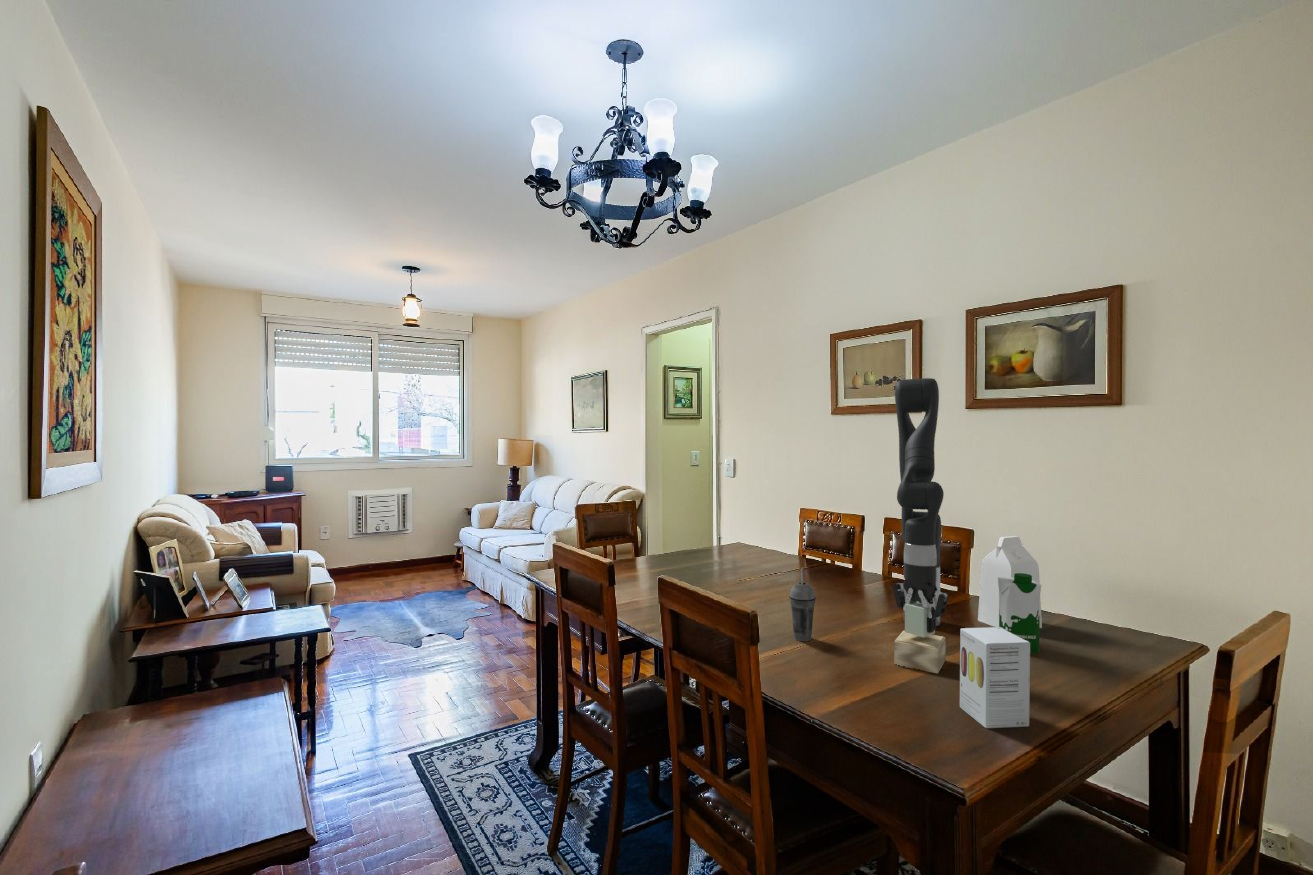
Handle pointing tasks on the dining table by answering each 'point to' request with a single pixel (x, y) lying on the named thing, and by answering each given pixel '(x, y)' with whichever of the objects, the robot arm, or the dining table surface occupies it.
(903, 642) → the beige box
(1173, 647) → the dining table surface
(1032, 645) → the milk carton
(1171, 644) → the dining table surface
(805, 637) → the beverage cup
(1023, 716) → the supplement box
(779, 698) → the dining table surface
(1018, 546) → the milk
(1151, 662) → the dining table surface
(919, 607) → the block
